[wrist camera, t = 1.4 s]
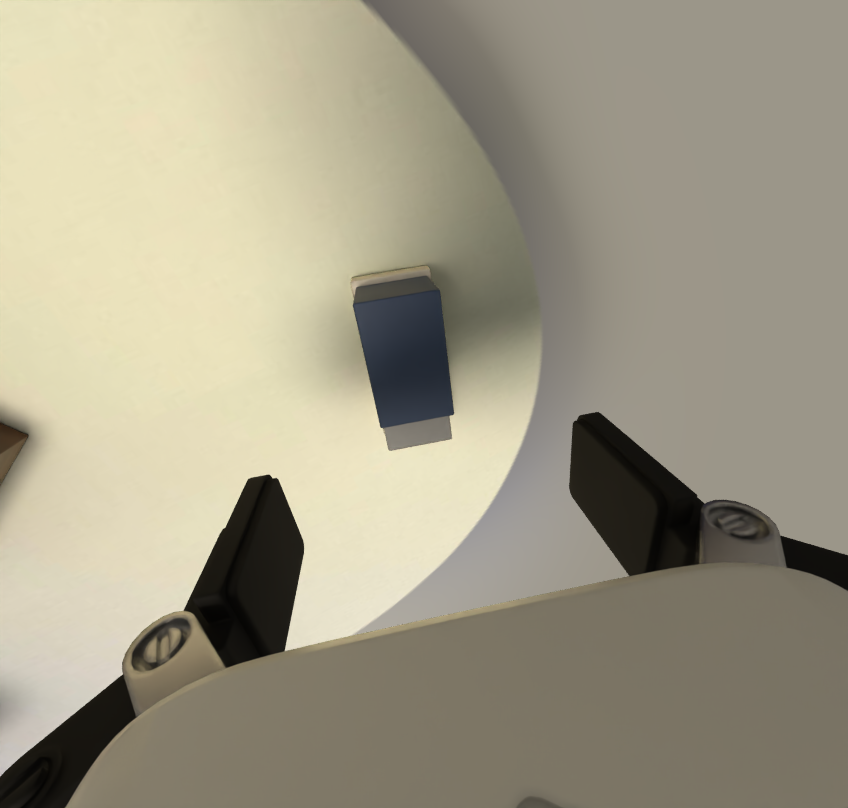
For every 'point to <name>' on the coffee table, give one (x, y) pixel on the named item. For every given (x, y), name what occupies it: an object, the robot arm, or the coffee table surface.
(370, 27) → the coffee table surface
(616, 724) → the robot arm
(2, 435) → the low brown table
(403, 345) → the stacked block assembly
